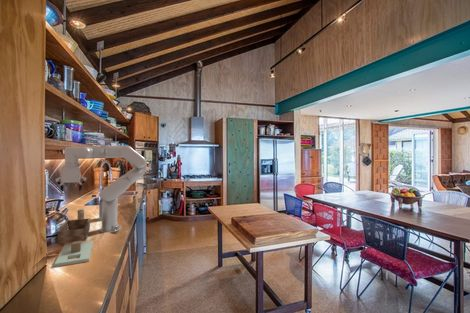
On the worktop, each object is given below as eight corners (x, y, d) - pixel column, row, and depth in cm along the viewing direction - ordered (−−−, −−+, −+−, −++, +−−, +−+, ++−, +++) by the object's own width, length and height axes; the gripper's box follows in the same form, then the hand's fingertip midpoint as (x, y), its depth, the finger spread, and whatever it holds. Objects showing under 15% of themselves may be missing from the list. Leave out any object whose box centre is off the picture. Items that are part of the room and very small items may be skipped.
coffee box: (100, 217, 195) (101, 198, 195) (109, 217, 197) (109, 198, 197) (98, 220, 187) (99, 200, 187) (107, 219, 189) (108, 200, 189)
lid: (93, 243, 139) (93, 233, 139) (88, 261, 116) (89, 249, 116) (64, 247, 133) (64, 236, 133) (54, 267, 110) (54, 254, 110)
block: (84, 226, 170) (84, 208, 170) (83, 228, 166) (84, 209, 166) (78, 227, 168) (78, 209, 168) (77, 229, 165) (77, 210, 164)
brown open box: (89, 229, 165) (90, 218, 165) (86, 241, 142) (86, 228, 142) (65, 232, 158) (66, 220, 158) (57, 245, 135) (57, 231, 135)
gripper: (87, 165, 162) (87, 189, 162) (56, 165, 154) (56, 190, 154) (86, 165, 156) (86, 191, 156) (54, 165, 147) (53, 192, 147)
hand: (71, 191), depth 155 cm, fingers open, 9 cm apart
